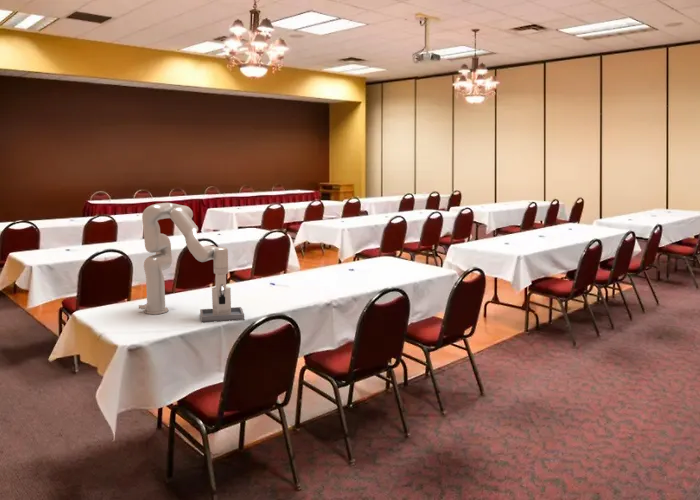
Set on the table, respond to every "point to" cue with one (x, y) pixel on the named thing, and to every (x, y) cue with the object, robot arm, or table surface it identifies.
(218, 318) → the tray
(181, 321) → the table surface
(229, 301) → the skincare box
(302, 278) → the table surface
